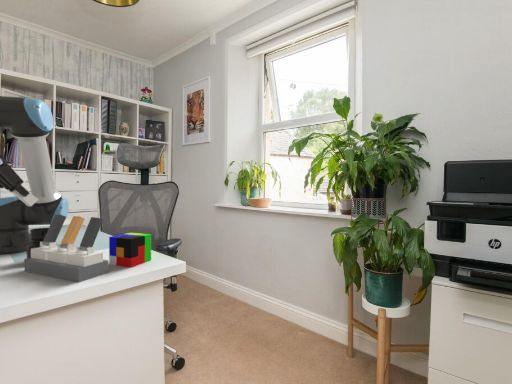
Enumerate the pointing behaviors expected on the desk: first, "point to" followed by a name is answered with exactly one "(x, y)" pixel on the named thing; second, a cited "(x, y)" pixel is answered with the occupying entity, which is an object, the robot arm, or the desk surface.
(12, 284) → the desk surface
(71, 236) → the lever
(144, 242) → the puzzle toy
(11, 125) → the robot arm
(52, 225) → the block
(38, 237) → the ink bottle
